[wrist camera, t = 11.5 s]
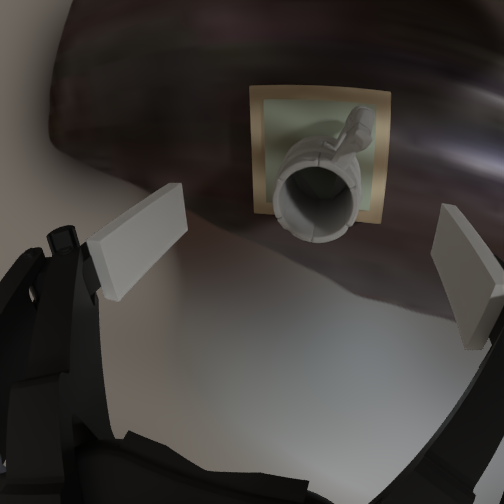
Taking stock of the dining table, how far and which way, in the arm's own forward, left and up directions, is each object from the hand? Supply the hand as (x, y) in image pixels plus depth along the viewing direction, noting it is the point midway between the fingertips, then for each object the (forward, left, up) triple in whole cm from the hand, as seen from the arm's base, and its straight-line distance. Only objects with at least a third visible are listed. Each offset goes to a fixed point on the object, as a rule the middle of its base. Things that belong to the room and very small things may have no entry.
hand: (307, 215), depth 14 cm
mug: (0, +1, -17) cm, 17 cm away
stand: (0, 0, -20) cm, 20 cm away
